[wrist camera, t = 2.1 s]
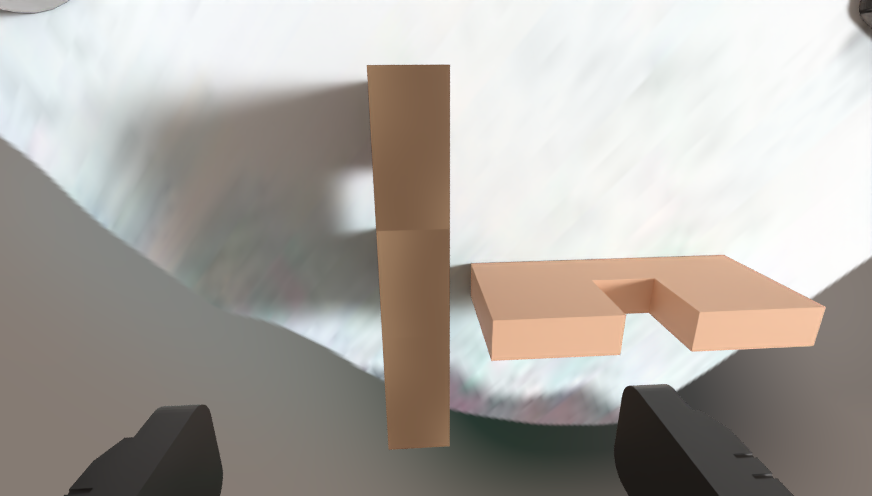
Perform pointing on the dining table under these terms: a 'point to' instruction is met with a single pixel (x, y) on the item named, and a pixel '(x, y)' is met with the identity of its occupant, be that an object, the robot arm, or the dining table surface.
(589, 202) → the dining table surface
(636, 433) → the robot arm
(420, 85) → the upright wooden board
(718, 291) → the horizontal wooden crosspiece
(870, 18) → the phone
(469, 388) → the dining table surface
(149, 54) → the dining table surface
